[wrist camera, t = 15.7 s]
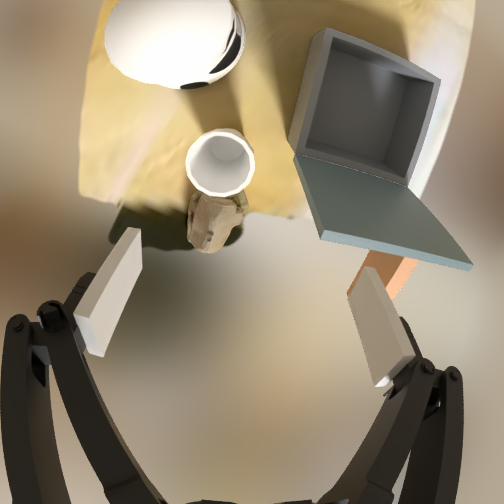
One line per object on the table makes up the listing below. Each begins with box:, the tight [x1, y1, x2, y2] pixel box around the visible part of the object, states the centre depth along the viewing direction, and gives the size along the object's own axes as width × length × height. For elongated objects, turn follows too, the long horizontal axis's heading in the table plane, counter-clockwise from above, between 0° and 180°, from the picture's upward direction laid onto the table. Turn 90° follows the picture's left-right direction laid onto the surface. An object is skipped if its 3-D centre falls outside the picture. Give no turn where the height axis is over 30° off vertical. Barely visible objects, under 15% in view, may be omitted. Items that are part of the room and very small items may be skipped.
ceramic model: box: [187, 189, 248, 254], centre depth 50 cm, size 14×11×10 cm
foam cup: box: [185, 128, 255, 197], centre depth 41 cm, size 10×9×13 cm
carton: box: [287, 27, 441, 187], centre depth 37 cm, size 20×20×10 cm
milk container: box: [105, 0, 246, 89], centre depth 28 cm, size 17×17×18 cm
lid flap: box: [293, 154, 473, 301], centre depth 34 cm, size 20×20×12 cm
